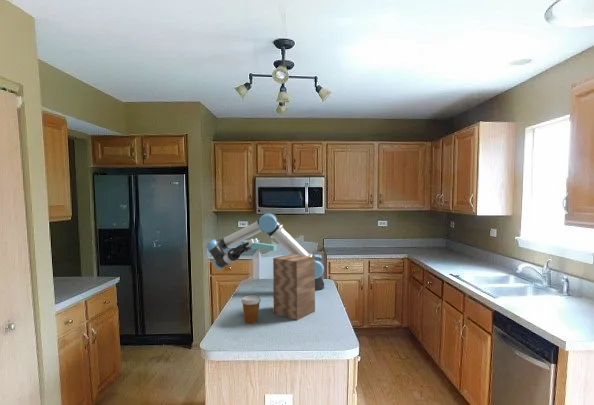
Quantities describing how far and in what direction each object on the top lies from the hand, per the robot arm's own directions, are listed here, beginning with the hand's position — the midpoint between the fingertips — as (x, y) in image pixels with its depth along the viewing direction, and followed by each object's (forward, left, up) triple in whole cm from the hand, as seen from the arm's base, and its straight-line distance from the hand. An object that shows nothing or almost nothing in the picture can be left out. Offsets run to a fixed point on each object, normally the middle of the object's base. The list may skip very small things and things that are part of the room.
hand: (254, 240), depth 193 cm
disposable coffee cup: (+12, +28, -37) cm, 48 cm away
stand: (-13, +27, -37) cm, 48 cm away
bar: (-1, +3, -4) cm, 5 cm away
